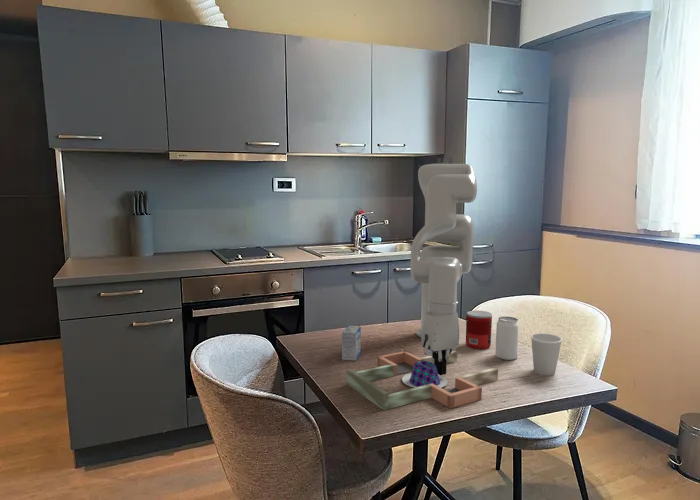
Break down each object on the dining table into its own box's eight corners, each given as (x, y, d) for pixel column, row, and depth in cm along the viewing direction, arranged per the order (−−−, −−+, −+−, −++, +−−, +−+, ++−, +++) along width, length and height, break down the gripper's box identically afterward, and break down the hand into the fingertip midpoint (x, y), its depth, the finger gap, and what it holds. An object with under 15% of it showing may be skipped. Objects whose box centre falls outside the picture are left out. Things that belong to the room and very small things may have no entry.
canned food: (494, 349, 161) (495, 316, 159) (469, 350, 160) (470, 316, 159) (486, 342, 168) (487, 310, 167) (462, 342, 168) (463, 310, 166)
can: (490, 354, 156) (492, 317, 154) (507, 352, 158) (509, 315, 156) (504, 361, 150) (506, 322, 148) (521, 359, 152) (523, 320, 150)
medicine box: (356, 361, 150) (356, 333, 148) (341, 360, 150) (341, 332, 149) (361, 352, 157) (361, 325, 156) (347, 351, 158) (347, 325, 157)
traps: (405, 360, 150) (405, 350, 150) (481, 399, 123) (481, 387, 123) (377, 366, 145) (377, 356, 145) (450, 408, 118) (450, 396, 118)
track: (454, 360, 151) (454, 347, 150) (497, 379, 136) (498, 365, 135) (346, 384, 132) (346, 370, 132) (383, 410, 117) (384, 393, 117)
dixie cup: (522, 368, 144) (524, 334, 143) (545, 364, 147) (547, 331, 146) (542, 378, 136) (544, 343, 135) (567, 375, 139) (569, 340, 138)
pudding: (456, 386, 131) (457, 367, 131) (419, 395, 126) (419, 375, 125) (429, 371, 142) (429, 354, 141) (393, 379, 136) (393, 360, 136)
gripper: (453, 301, 141) (451, 364, 143) (411, 308, 133) (409, 374, 136) (472, 307, 135) (470, 372, 137) (429, 314, 127) (427, 383, 129)
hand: (440, 373), depth 136 cm, fingers closed
